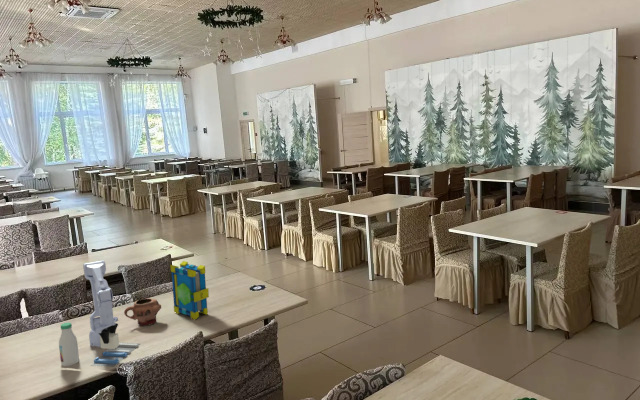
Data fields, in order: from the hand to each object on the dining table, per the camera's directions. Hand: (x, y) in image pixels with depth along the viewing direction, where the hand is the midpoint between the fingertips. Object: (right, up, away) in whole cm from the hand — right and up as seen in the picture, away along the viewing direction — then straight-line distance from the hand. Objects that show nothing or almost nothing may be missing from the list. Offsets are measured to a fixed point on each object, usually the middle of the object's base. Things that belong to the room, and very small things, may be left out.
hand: (109, 341), depth 230 cm
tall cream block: (0, -3, 0) cm, 3 cm away
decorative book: (+23, -1, +59) cm, 63 cm away
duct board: (+1, -9, +6) cm, 11 cm away
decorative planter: (+1, -4, +45) cm, 45 cm away
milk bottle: (-18, -11, 0) cm, 21 cm away
